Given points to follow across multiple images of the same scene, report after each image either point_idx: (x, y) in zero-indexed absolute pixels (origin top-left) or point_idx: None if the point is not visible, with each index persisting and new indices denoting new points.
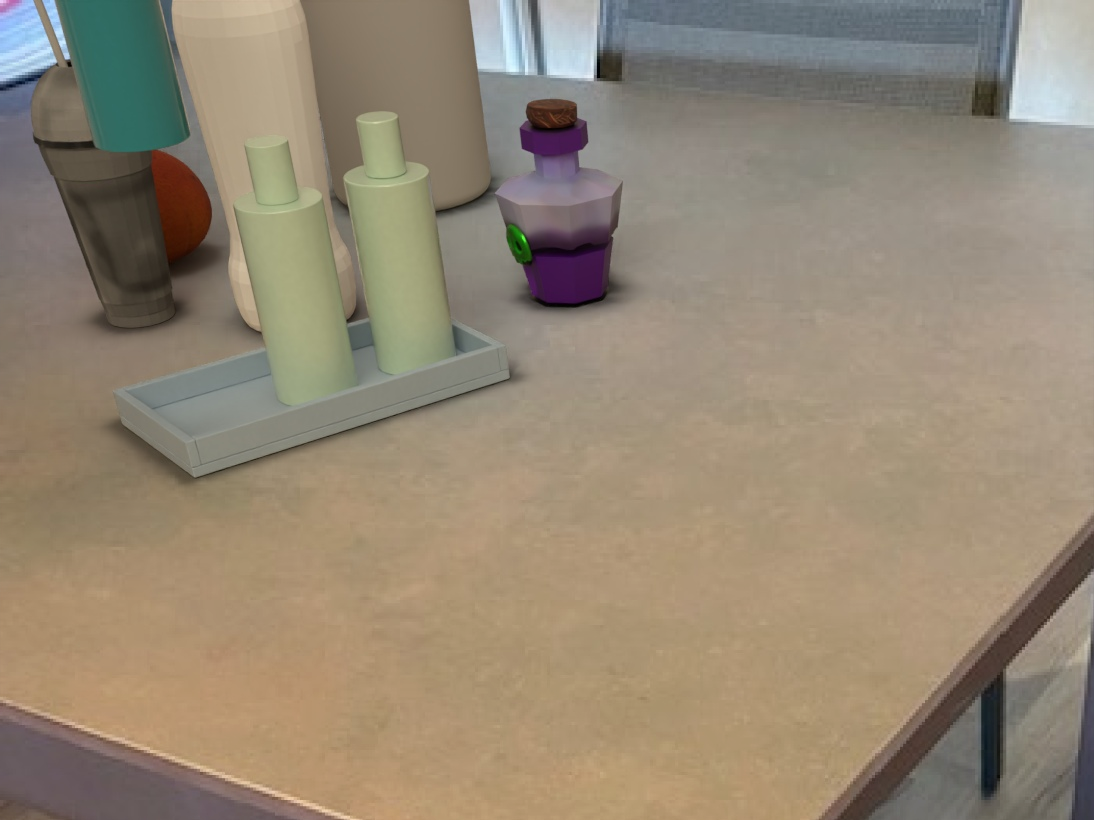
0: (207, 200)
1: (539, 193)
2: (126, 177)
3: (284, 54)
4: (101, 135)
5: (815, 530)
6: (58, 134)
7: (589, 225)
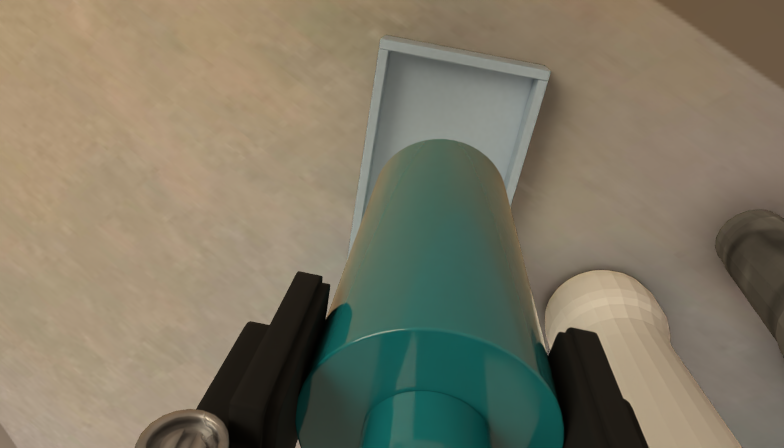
0: None
1: None
2: (780, 314)
3: None
4: (430, 144)
5: (3, 244)
6: None
7: None
